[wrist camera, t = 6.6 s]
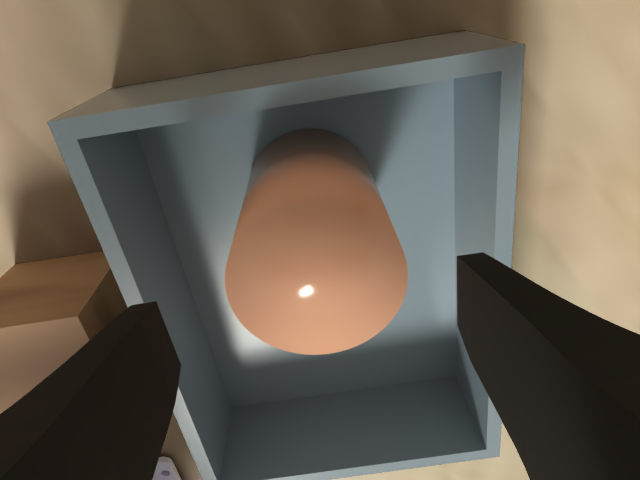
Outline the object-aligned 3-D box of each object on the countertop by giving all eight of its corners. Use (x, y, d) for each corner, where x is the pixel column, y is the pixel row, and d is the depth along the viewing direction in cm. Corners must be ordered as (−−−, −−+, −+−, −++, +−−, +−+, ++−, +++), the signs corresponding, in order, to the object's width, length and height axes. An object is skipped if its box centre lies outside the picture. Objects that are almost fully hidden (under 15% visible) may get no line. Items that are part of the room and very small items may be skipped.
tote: (463, 374, 25) (499, 456, 20) (224, 408, 25) (209, 495, 21) (464, 30, 17) (524, 44, 12) (111, 88, 17) (47, 121, 13)
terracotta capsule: (375, 127, 18) (417, 199, 11) (368, 242, 20) (400, 352, 14) (244, 128, 17) (215, 201, 11) (252, 244, 20) (232, 356, 14)
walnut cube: (159, 333, 23) (126, 414, 18) (62, 347, 23) (6, 431, 19) (124, 246, 20) (77, 316, 16) (15, 263, 21) (-61, 337, 16)
